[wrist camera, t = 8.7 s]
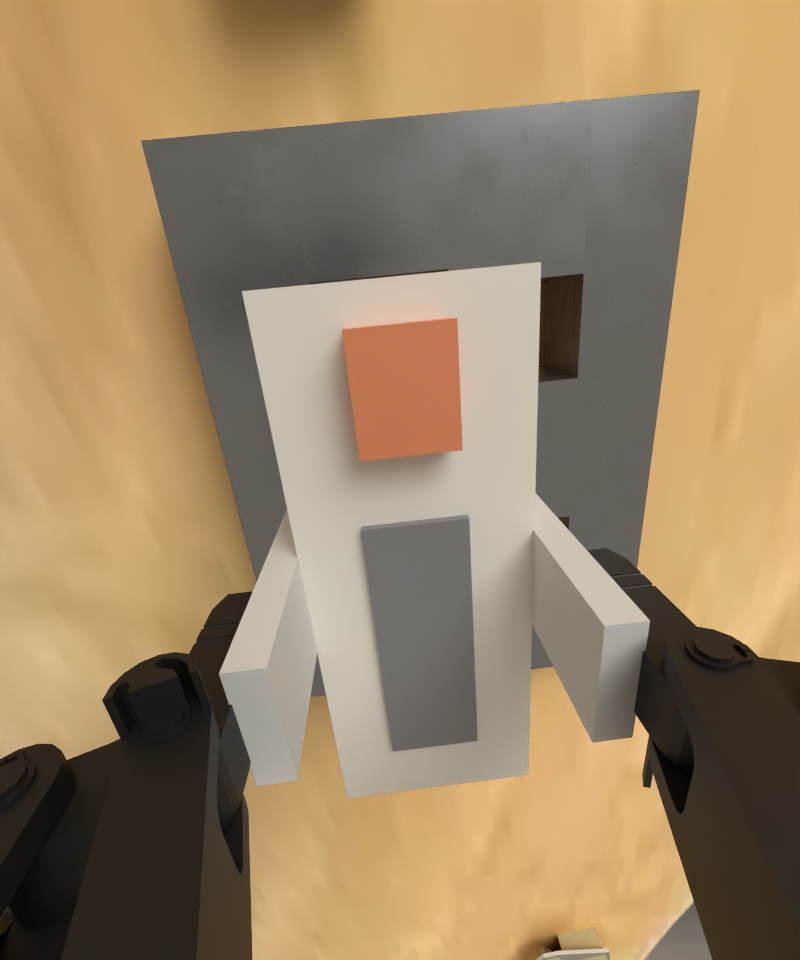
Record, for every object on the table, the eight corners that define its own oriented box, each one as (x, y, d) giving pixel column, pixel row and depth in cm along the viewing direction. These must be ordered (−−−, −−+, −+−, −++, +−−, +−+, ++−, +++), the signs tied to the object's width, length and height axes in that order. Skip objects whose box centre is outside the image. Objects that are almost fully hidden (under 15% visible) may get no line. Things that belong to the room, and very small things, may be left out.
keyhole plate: (298, 650, 26) (287, 699, 22) (185, 173, 17) (140, 140, 14) (593, 614, 26) (625, 657, 23) (637, 130, 17) (699, 89, 14)
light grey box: (356, 595, 22) (346, 828, 12) (311, 303, 17) (228, 288, 7) (462, 582, 22) (537, 802, 12) (448, 289, 17) (559, 256, 7)
